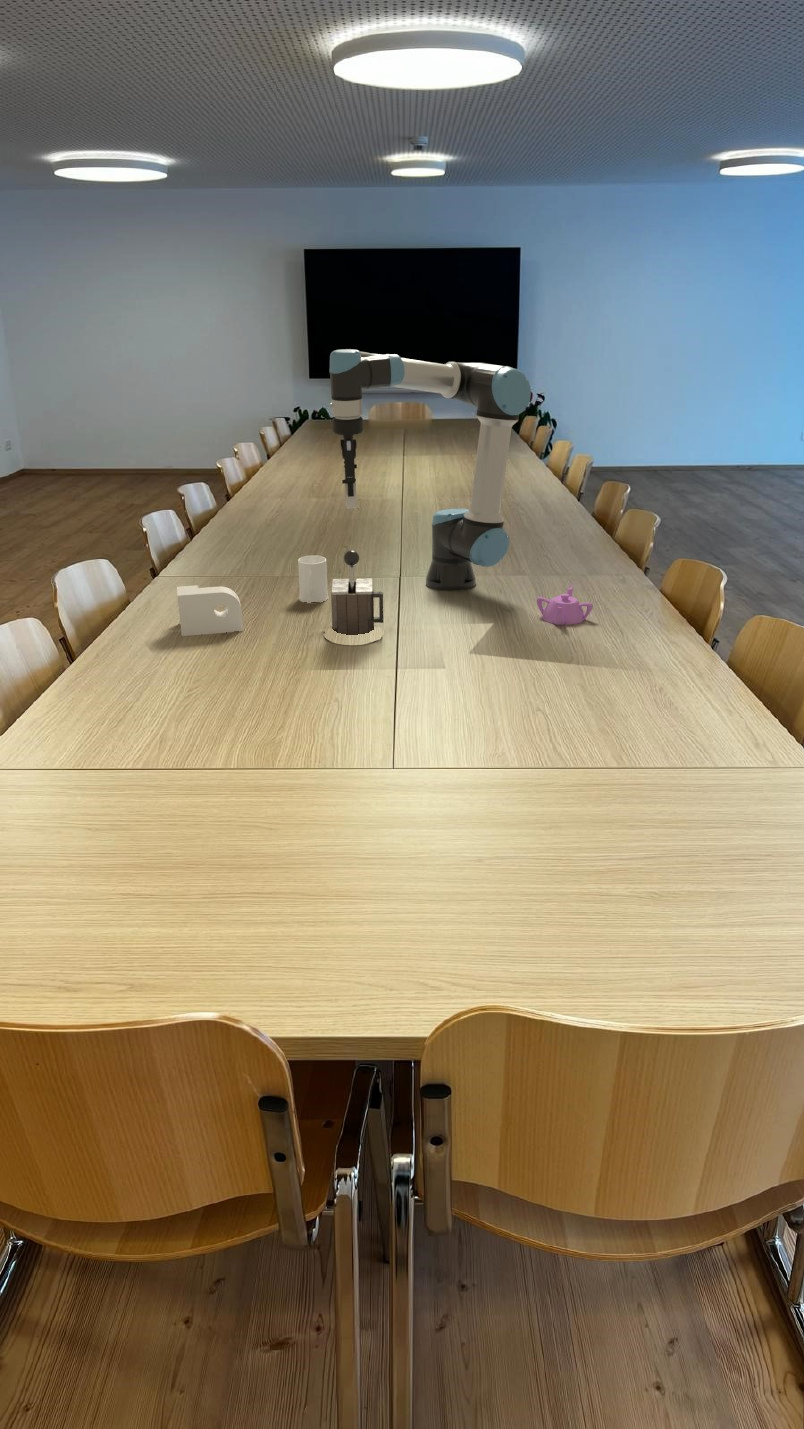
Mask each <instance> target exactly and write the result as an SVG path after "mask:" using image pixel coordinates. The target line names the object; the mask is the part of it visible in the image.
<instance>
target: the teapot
mask: <svg viewBox="0 0 804 1429" xmlns="http://www.w3.org/2000/svg"><path fill="white" fill-rule="evenodd" d="M573 589H574V586H573V585H571V584H570V586H568V588H567V592H566V593H561V594H560V595H556V596H554V597H552V598H551V599H549V598H545V597H543V596H539V597H537V598H536V604H537V607H538V610H539V611H540V613H541V614H542V616H541V618H542V619H543V621H545V622H547V623H549V624H550V623H551V624H554V625H557V626H564V625H575V624H580V623H582V622H584V621H585V619H586V618H587V617H588V616H589V614H591V612H592V610H593V607H594V606H593V603H591V602H579V600H578V599H577V598H576V597H574V596H573ZM543 602H544V603H547V605H546V606H545V608H544V607H543ZM582 607H586V611H585V612H584V610H583V608H582Z"/></svg>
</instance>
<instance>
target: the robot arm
mask: <svg viewBox="0 0 804 1429" xmlns="http://www.w3.org/2000/svg"><path fill="white" fill-rule="evenodd" d="M329 376H330V377H329V380H330V394H331V402H330V403H329V404H328V406H329V407H330V408H331V412H332V416H333V418H332V432H333V433H334V434H335V435H339V436H343V439H340V449H341V457H342V459H343V460H344V461H343V464H344V466H343V468H344V470H343V471H344V479H342V480H341V481H342V484H344V496H345V497H344V498H345V509H346V510H354V509H355V510H356V509H358V506H357V485H356V484H357V482H356V481H357V479H356V470H355V469H358V466H357V463H355V459H356V458H357V451H356V450H357V447H358V446H357V439H355V438H354V435H359V434H361V433H363V431H364V422H363V417H362V415H364V413H363V412H364V411H363V395H362V394H363V390H369V389H371V390H372V389H379V388H387V387H388V388H391V387H393V388H399V389H407V390H413V391H419V392H420V391H422V392H428V393H435V394H441V396H442V397H444V398H445V399H452V400H455V401H459V402H462V403H465V404H468V405H470V406H473V407H476V415H475V416H476V418H477V419H478V421H479V423H480V427H479V434H478V441H477V443H478V444H477V451H476V459H475V467H474V472H473V473H474V474H473V480H472V481H473V482H472V490H471V498H470V506H469V509H468V508H448V509H441V510H438V511H436V512H434V513H433V516H432V523H431V529H432V530H431V531H432V532H431V533H432V534H431V537H432V538H431V542H432V543H431V562H430V565H429V568H428V570H427V573H426V576H425V586H426V587H428V588H429V589H432V590H436V591H446V592H457V591H458V592H459V591H466V590H470V589H472V588H474V587H475V586H476V581H477V580H476V574H475V571H474V568H473V565H475V566H481V567H484V568H490V567H494V566H495V565H497V564H498V563H500V561H501V560H503V559H504V557H505V556H506V555H507V552H508V550H509V547H510V537H509V535H508V533H507V531H506V530H505V529H504V523H505V518H504V517H503V516H502V514H501V509H502V508H501V506H502V500H503V493H504V485H505V478H506V472H507V463H508V456H509V449H510V442H511V434H512V427H513V426H514V425H515V424H516V423H518V422H519V419H520V418H519V417H520V414H522V413H523V412H524V411H525V410H526V408H527V407H528V405H529V404H530V401H531V393H532V392H531V391H532V389H531V384H530V381H529V379H528V378H527V376H526V374H525V373H524V372H523V371H521V370H519V369H517V368H515V367H514V368H513V367H511V366H508V365H506V366H505V365H497V364H492V363H487V362H456V361H448V362H446V363H444V364H443V363H438V362H431V361H424V360H417V359H412V358H411V359H410V358H405V357H401V356H400V355H398V354H395V353H394V354H390V353H386V354H380V353H379V354H378V353H370V352H366V351H360V350H358V349H351V348H349V349H348V348H346V349H342V348H341V349H336V350H333V351H332V352H331V353H330V355H329Z"/></svg>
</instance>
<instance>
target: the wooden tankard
mask: <svg viewBox="0 0 804 1429" xmlns="http://www.w3.org/2000/svg"><path fill="white" fill-rule="evenodd" d="M330 598H331V600H330V601H331V624H332V626H331V627H332V629H333V630H334V631H336V632H337V633H341V634H346V635H358V634H365V633H369V632H370V631H372V630H374V626H375V623H379V624H384V591H374V585H373V578H370V577H369V578H368V577H367V578H356V580H354V594H351V593H350V578H332V584H331V586H330ZM374 598H375V599H376V598H378V599H379V600H378V604H379V605H378V608H379V609H378V610H379V612H378V613H379V614H378V615H379V616H375V612H374V611H375V610H374V608H375V607H374V606H375V604H374V602H375V601H374Z"/></svg>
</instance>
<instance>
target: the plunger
mask: <svg viewBox="0 0 804 1429" xmlns="http://www.w3.org/2000/svg"><path fill="white" fill-rule="evenodd" d="M343 561H344V563H345V565H346V566H349V581H350V593H351V594H354V581H355V568H354V567H355V566H356V565H358V563H359V561H360V555H359V553H358V552H357V551H356V550H353V549H350V550H347V551H346V552H345V553H344V555H343Z"/></svg>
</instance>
